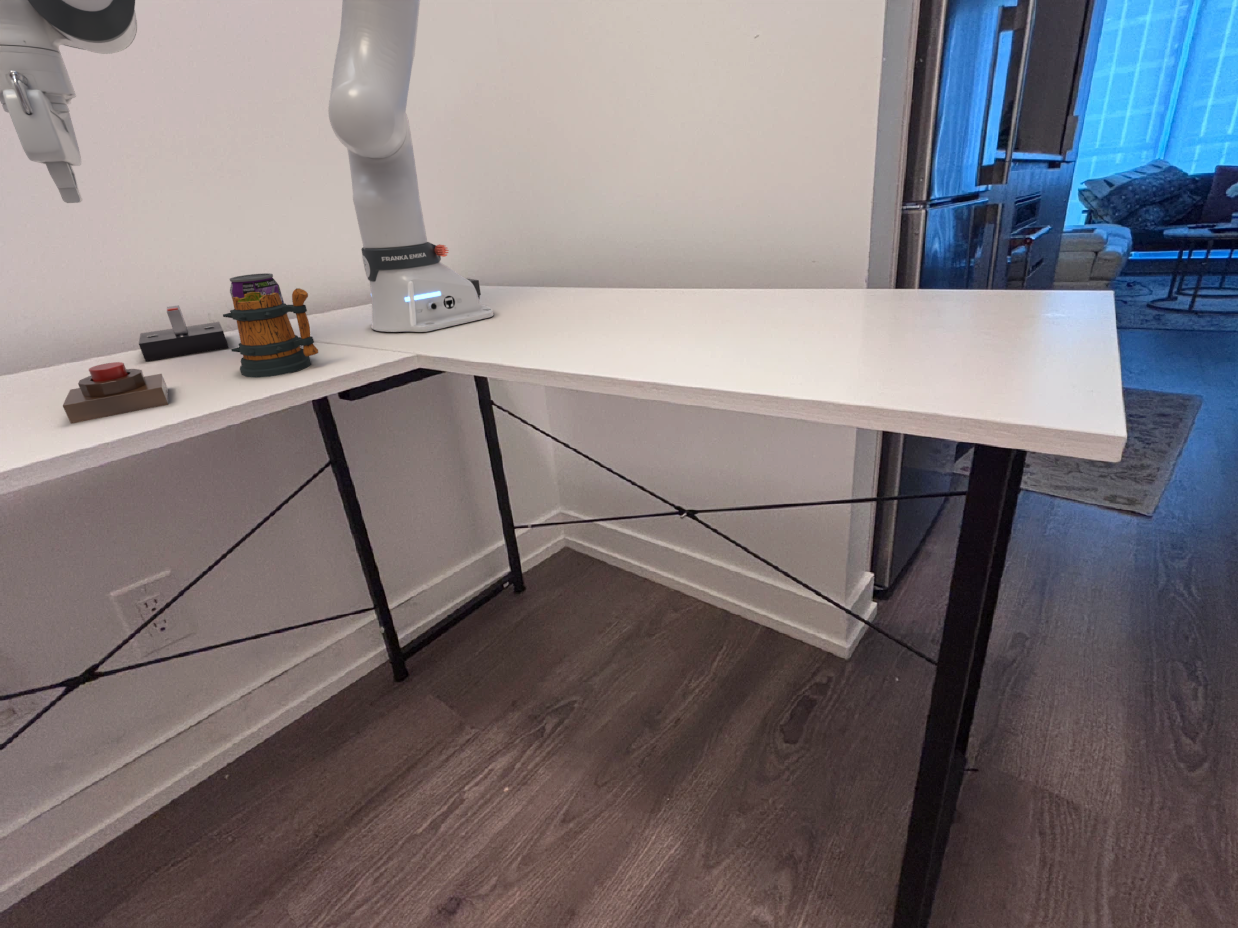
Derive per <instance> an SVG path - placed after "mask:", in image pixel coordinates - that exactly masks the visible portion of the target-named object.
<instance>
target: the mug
mask: <svg viewBox="0 0 1238 928" xmlns="http://www.w3.org/2000/svg"><path fill="white" fill-rule="evenodd" d="M308 297H309V293H308V292H307V291H306V290H305V289H303V288H300V287H299V288H297V287H296V288H295V289H294V290H293V291H292V294H291V300H292V304H287V303H285V302H284V303H282V301H281V298H280V296H279V294H278V293H272V294H271V295H268V294H266V295H261V292H250V293H247V294H244V298H240V299H239V298H238V297H231V299H232V304H233V309H230V310H229V312H228V313H224V314H222V317H223V318H229V319H232V320H234V321H236V325H237V326H236V327H237V331H238V335H239V341H240V342H239V343H238V347H234V348H230V351H231V352H233V353H239V354H240V355H241V356H243V357H241V358H240V367H239V371H240V374H241V376H243V377H246V378H255V379H257V378H271V377H276V376H277V377H278V376H283V375H288V374H292V373H296V372H299V371H301V370H304V369H307V368H308V367H310V366H311V365H312V361H311V356H315V355H317V354H319V349H318V348H317V347H316V345H315V339H314V338H313V336H312V335H311V326H310V323H309V318H308V316H307V315H308V314H307V313H308V310H307V309H308V308H307V305H306V304H305V301H306V300H307V299H308ZM288 313H293V314H295V315H296V320H297V326H298V331H299V335H300V336H298V335H297V334H296V333H295V331H294V329H293V325H292V324H291V321H290V319H289V316H287V315H288ZM302 347H303V348H302Z"/></svg>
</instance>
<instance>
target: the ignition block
mask: <svg viewBox="0 0 1238 928" xmlns="http://www.w3.org/2000/svg"><path fill="white" fill-rule="evenodd" d="M126 370H127V373H128V375H127V376H124V377H121V378H117V379H113V380H107V381H98V382H94V381H93V379H92V377H91V375H88V376H86V377H83V378H81V379H79V380H78V383H77V384H78V387H77V388H71V389H69V391H68V393H67V396H66V398H65V400H64V402H63V404H62V408H63V410H64V412H65V414H66V416H67V418H68V420H69V423H70V424H77V423H83V422H88V421H92V420H97V419H102V418H108V417H113V416H117V415H123V414H128V413H132V412H138V411H143V410H147V409H154V408H158V407H164V406H168V405H169V388H168V386H167V384H166V380H165V378H164V376H163V374H162V373H156V374H151V375H145V376H144V372H143V370H142V369H139V368H126Z"/></svg>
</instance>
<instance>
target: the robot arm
mask: <svg viewBox="0 0 1238 928" xmlns="http://www.w3.org/2000/svg"><path fill="white" fill-rule="evenodd" d="M420 5H421V0H342V4H341V18H340V19H341V20H340V30H339V31H340V32H339V37H338V43H337V48H336V52H335V58H334V65H333V72H332V78H331V86H330V93H329V100H328V107H327V108H328V109H327V112H328V119H329V123H330V126H331V129H332V131H333V134H334V135H335V137H336V138H337V139H338V141H339V142H340V143H341V144H342V145H343V146H344V147H345V148H346V150H347V156H348V163H349V170H350V179H351V189H352V202H353V205H354V210H355V215H356V219H357V224H358V228H359V234H360V238H361V243H362V247H361V249H360V250H361V259H362V264H363V268H364V272H365V275H366V277H367V280H368V281H369V287H370V297H371V324H370V325H371V327H370V328H371V329H372V330H374V331H377V332H384V333H385V332H387V333H399V332H400V333H401V332H404V333H405V332H415V333H426V332H431V331H436V330H440V329H444V328H445V329H446V328H449V327H454V326H458V325H462V324H466V323H471V322H476V321H479V320H484V319H489V318H492V317H493V316H494V312H493V311H494V310H493V309H492V307H490V306H488V305H485V304H482V303H481V302H480V301H481V295H482V294H481V287H480V281H479V279H473V278H466V277H464V276H463V275H462V274H460V273H458V272H457V271H455V270H454V269H453V268H451V267H449V266H447V265H445V264H444V263H443V262H441V260H442V258H443V257H447V256H448V254H449V248H448V247H447V246H446V245H445V244H441V243H440V244H437V245H436V244H434V243H432V242H430V241H428V238H427V231H426V225H425V220H424V215H423V208H422V202H421V197H420V190H419V183H418V175H417V167H416V159H415V151H414V147H413V140H412V134H411V133H412V132H411V126H410V121H409V118H408V115H407V112H406V111H407V106H408V105H407V103H408V97H409V89H410V83H411V76H412V70H413V65H414V59H415V54H416V46H417V34H418V26H419V25H418V24H419V15H420ZM135 7H136V0H0V104H1V106H2V109H3V111H4V112H5V113H9V117H10V119H11V122H12V125H13V127H14V130H15V132H16V134H17V137H18V140H19V143H20V145H21V147H22V150H23V152H24V153H25V156H27V159H28V160H29V161H31V162H35V163H37V164H42V165H45V166H46V168H47V171H48V173H49V175H50V177H51V179H52V181H53V182H54V185H55V186H56V187H57V190H58V192H59V195H60V197H61V199H62V201H63V203H66V204H78V203H82V202H83V197H82V194H81V192H80V189H79V186H78V182H77V177H76V173H75V170H74V168H73V167H80V166H81V165H82V156H81V152H80V151H81V150H80V147H79V143H78V140H77V139H78V138H77V135H76V133H75V128H74V125H73V122H72V121H73V120H72V118H71V114H70V108H69V105H71V104H72V102H71V101H72V99H75V98H77V93H76V92H75V88H74V85H73V83H72V80H71V78H70V75H69V72H68V70H67V67H66V64H65V61H64V59H63V56H62V53H61V51H60V46H64V47H69V48H74V49H78V50H83V51H88V52H91V53H95V54H101V55H108V54H109V55H110V54H111V55H112V54H115V53H116V54H117V53H119V52H122V51H124V50H126V49H127V48H129V47H130V46H131V45H132V43H133V42H134V41H135V38H136V35H137V33H138V20H137V14H136V9H135ZM441 257H442V258H441Z"/></svg>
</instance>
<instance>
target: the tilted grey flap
mask: <svg viewBox="0 0 1238 928" xmlns="http://www.w3.org/2000/svg"><path fill="white" fill-rule="evenodd" d="M166 313H167V316H168V320H169V322H170V325H171V329H173V331H174V333H175V335H181V334H188V332H187V326H188V325H187V324H186V321H185V319H184V316H183V313H182V310H181V306H180V305H171V306H166Z"/></svg>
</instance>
